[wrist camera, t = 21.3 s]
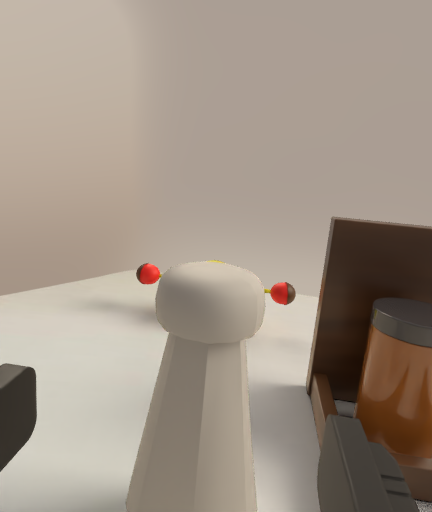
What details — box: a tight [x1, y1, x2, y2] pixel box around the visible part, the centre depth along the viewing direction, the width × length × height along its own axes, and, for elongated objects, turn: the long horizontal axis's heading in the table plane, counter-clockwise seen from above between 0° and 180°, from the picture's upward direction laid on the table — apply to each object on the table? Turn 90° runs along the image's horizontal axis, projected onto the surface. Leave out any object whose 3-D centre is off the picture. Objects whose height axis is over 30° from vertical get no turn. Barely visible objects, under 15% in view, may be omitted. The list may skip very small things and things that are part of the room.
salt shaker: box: [126, 262, 265, 512], centre depth 17 cm, size 6×6×13 cm
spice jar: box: [353, 298, 432, 459], centre depth 25 cm, size 5×5×9 cm
